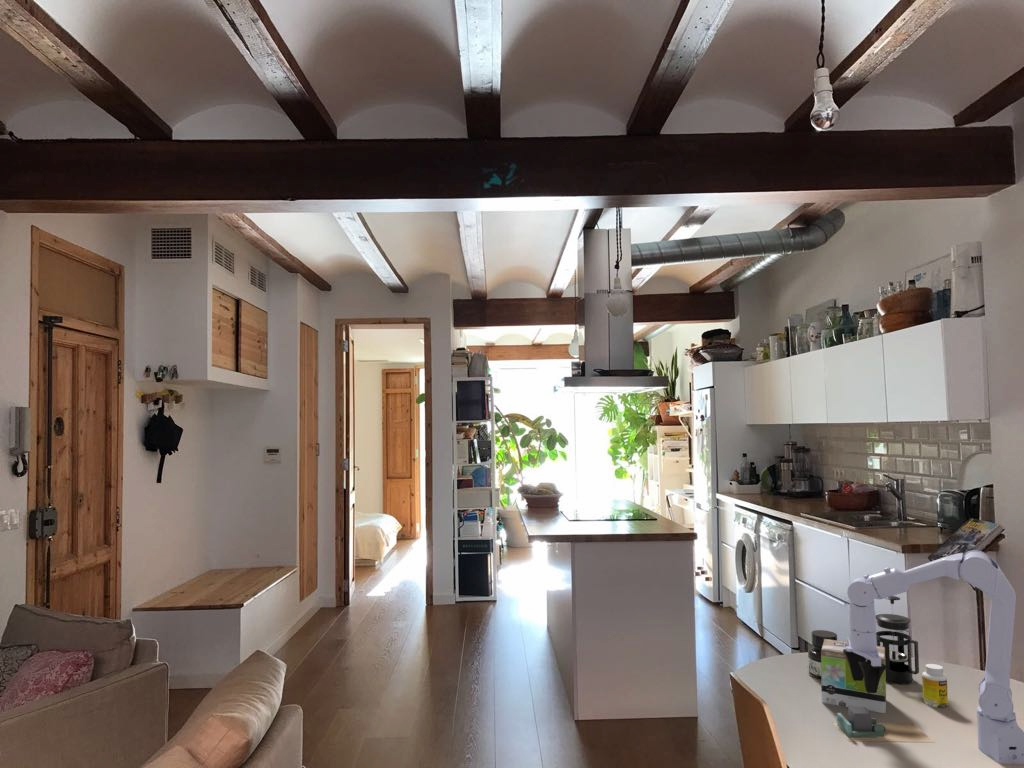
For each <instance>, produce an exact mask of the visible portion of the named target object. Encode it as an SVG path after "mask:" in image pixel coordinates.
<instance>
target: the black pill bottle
mask: <svg viewBox="0 0 1024 768" xmlns="http://www.w3.org/2000/svg"><path fill="white" fill-rule="evenodd" d="M824 639H829V640H836V641H838V634H837V633H836V632H833V631H831V630H830V631H829V630H825V629H823V630H822V629H815V630H813V631H811V645H812V646H811V647H810V648H809V649H808V651H807V666H808V667H807V668H808V669H807V670H808V674H809V675H810V676H811V675H812V676H811V677H813V678H815V679H819V680H821V650H822V646H823V642H824Z"/></svg>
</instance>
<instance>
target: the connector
mask: <svg viewBox="0 0 1024 768" xmlns="http://www.w3.org/2000/svg"><path fill="white" fill-rule="evenodd" d="M871 712H872V711H868V710H867V709H866V708H865V707H847V721H848V722H849V723H850V724H851V730H852V731H866V732H873V725H872V717H873V715H872V713H871ZM883 726H884V725H883ZM885 730H886V728H885V726H884V732H885Z"/></svg>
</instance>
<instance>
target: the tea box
mask: <svg viewBox="0 0 1024 768" xmlns="http://www.w3.org/2000/svg"><path fill="white" fill-rule="evenodd" d="M846 646H847V641H843V640H842V641H841V640H837V641H836V640H829V639H824V642H823V646H822V650H821V679H820V681H821V683H820V684H821V703H822V704H828V705H832V706H833V705H834V706H838V707H847V708H848V707H865V708H866V709H867V710H868V711H870V712H875V713H876V712H877V713H882V714H886V710H887V709H886V708H887V707H886V706H887V701H886V700H887V685H886V684H887V682H886V669H885V670H884V672H883V673H882V675H881V678H880V681H879V685H878V689H877V692H876V693H867V692H866V688H865V683H864V677H863V681H854V680H853V678H852V674H851V670H850V666H849V663H848V660H847V658H846V656H845V654H844V652H843V649H846V648H845V647H846ZM876 647H877V649H878V654H879V657H880V658H881V663H883V664H884V665H885V647H883V646H880V647H879V646H877V645H876ZM866 662H867V659H866Z"/></svg>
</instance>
